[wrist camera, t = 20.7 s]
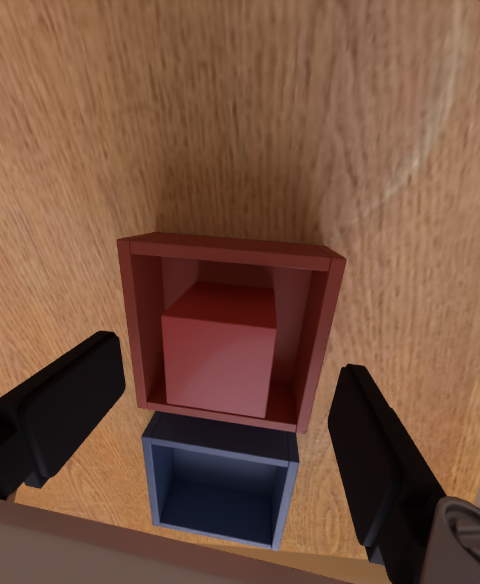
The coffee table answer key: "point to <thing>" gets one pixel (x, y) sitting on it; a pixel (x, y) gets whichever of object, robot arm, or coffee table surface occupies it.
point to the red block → (220, 348)
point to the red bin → (243, 272)
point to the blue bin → (220, 478)
